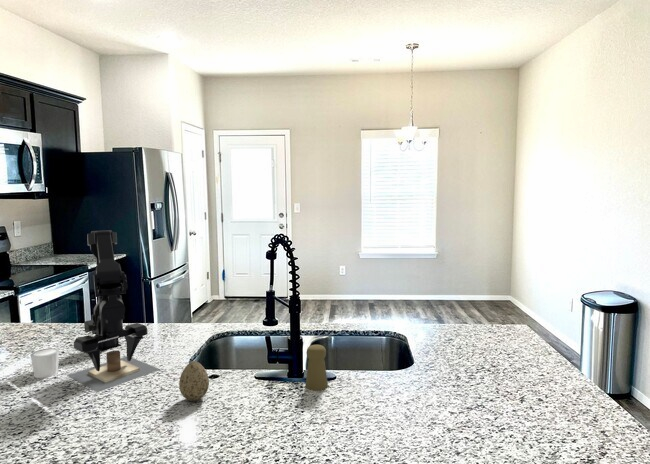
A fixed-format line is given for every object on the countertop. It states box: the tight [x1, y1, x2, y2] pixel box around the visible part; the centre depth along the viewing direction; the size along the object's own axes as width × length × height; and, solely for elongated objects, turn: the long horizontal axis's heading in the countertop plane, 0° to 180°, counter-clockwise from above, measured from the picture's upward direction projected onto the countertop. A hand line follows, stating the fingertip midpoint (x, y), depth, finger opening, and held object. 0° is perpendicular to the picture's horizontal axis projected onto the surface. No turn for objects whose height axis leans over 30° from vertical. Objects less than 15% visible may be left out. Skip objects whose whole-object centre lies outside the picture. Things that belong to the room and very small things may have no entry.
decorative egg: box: [178, 360, 210, 402], centre depth 109 cm, size 7×7×10 cm
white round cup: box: [30, 347, 60, 379], centre depth 125 cm, size 7×7×7 cm
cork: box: [305, 344, 329, 392], centre depth 116 cm, size 6×6×11 cm
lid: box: [88, 349, 140, 383], centre depth 125 cm, size 10×10×6 cm
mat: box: [66, 355, 161, 393], centre depth 126 cm, size 18×18×1 cm
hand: (113, 365), depth 125 cm, fingers open, 9 cm apart
